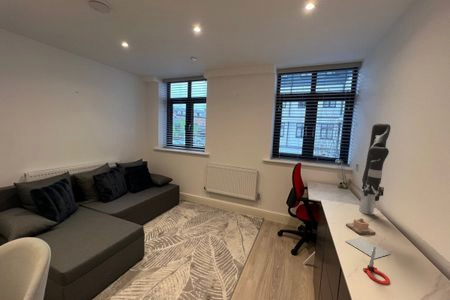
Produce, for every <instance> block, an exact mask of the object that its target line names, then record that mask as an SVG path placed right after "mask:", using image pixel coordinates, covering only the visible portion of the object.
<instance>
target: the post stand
mask: <svg viewBox="0 0 450 300" xmlns="http://www.w3.org/2000/svg"><path fill="white" fill-rule="evenodd" d="M358 219H359V222H360V223H363V221H365V220H364V219H363V218H358ZM345 226H346V227H347V228H349V229H350V230H352V231H353V232H354V233H356V234H358V235H359V236H360V235H361V236H362V235H363V236H364V235H366V236H367V235H368V236H369V235H376V231H375V230H373V229H371V228H369V227H368V230H360V229H358V228H356V227H355V226H353V223H351V222H350V223H345Z"/></svg>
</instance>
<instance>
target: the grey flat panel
mask: <svg viewBox="0 0 450 300" xmlns="http://www.w3.org/2000/svg"><path fill="white" fill-rule="evenodd" d="M345 242H346V243H348V244H350V245H351V246H353V247H355V248H356V249H358V250H360V251H361V252H363V253H365V254H366V255H368V256H369V257H371V255H372V251H373V249H374V247H376V249H375V251H376V252H375V257H374V260H376V259H378V258H381V257H384V256H388V255H391V253H390V252H388V251H386V250H384V249H383V248H381V247H379V246H378V245H376V244H373V243H372V242H370V241H368V240H366V239H364V238H363V237H356V238H352V239H347V240H345Z"/></svg>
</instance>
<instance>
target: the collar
mask: <svg viewBox="0 0 450 300" xmlns="http://www.w3.org/2000/svg"><path fill="white" fill-rule="evenodd" d="M359 219H360V218H357V219H353V226H355V227H356V228H358V229H360V230H368V228H369V226H370V223H369V222H367V221H365V220H364V221H363V223H360V222H359Z"/></svg>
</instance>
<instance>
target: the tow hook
mask: <svg viewBox="0 0 450 300" xmlns="http://www.w3.org/2000/svg"><path fill="white" fill-rule="evenodd" d="M375 249H376V247H374V249H373V251H372V255H371V256H370V260H369V262H368V263H369V264H368V265H367V266H366V267H363V268H362V270H363V271H364V272H366V275H367V276H368V278H369V279H371V280H372V281H374V282H375V283H377V284H380V285H385V286H386V285H389V284H390V283H391V279H390V278H389V276H388V275H387V274H385V273H384V272H382V271H380V270H378V268H377V267H376V266H374V264H375V262H374V261H375V259H374V257H375V252H376V251H375ZM372 272H373V273H376V274H378V275H380V276H382V277H383V278H384V280H380V279H378V278H376V277H375V276H374V275H373V274H372Z"/></svg>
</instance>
